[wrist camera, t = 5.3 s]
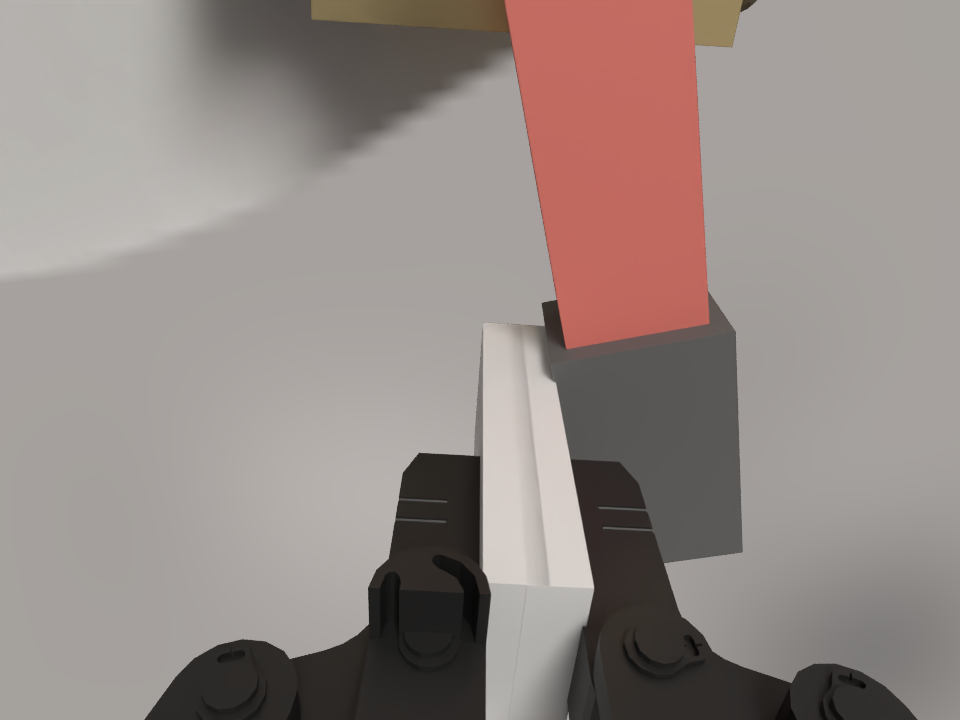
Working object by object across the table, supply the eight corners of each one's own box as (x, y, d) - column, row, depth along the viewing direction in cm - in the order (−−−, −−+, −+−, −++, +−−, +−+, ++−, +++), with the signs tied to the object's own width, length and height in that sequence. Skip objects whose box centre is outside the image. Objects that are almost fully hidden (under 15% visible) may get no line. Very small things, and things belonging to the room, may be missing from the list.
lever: (387, -382, 8) (352, -500, 6) (675, -475, 8) (739, -636, 6) (565, 495, 16) (575, 575, 14) (721, 471, 15) (757, 549, 13)
